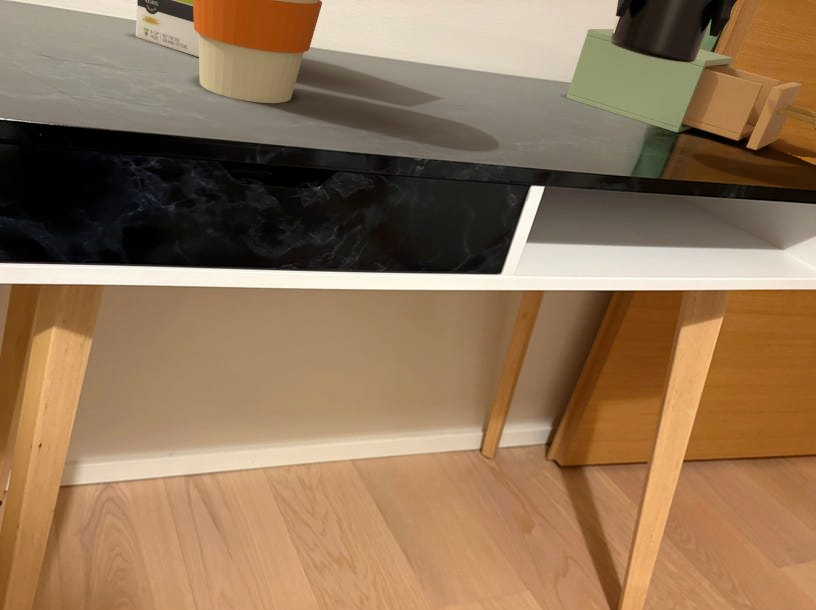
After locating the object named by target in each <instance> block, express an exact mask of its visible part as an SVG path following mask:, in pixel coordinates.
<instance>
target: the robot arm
mask: <svg viewBox="0 0 816 610" xmlns="http://www.w3.org/2000/svg"><path fill="white" fill-rule="evenodd" d="M631 2H632V0H617V6H616V12H615V17H617V18H618V17H624V15H625V13H626V11H627V9H628V7H629V6H630V4H631ZM737 2H738V0H718V2H717V5H716V7H715V10H714V13H713V15H712V18H711V20H710V24H709V36H710V37H714V38H717V37H718V36H719V34H720V33H721V32H722V31H723V29H724V28H725V26H726V25H727V24H728V22H729V21H730V20H731V13H732V8H733V7H734V5H735V4H736V3H737Z"/></svg>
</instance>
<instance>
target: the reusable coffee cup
mask: <svg viewBox="0 0 816 610" xmlns="http://www.w3.org/2000/svg"><path fill="white" fill-rule="evenodd" d="M322 1H323V0H193V14H194V29H195V31H197V32H198V35H199V57H198V66H199V67H198V69H199V84H200V85H201V87H203V88H204V89H205V90H207V91H209V92H211V93H214V94H217V95H220V96H224V97H227V98H231V99H235V100H239V101H246V102H252V103H262V104H278V103H279V104H281V103H286V102H289V101H290V100H291V99H292V97H293V94H294V93H293V92H294V89H295V85H296V82H297V78H298V75H299V71H300V67H301V64H302V60H303V57H304V54H305V53H306V52H308V51H310V48H311V45H312V40H313V36H314V34H315V31H316V27H317V24H318V20H319V17H320V13H321V9H322V6H323V2H322Z"/></svg>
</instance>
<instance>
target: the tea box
mask: <svg viewBox="0 0 816 610" xmlns="http://www.w3.org/2000/svg"><path fill="white" fill-rule="evenodd" d="M136 3H137V4H136V22H135V23H136V24H135V37H136V38H139V39H142V40H144V41H148V42H151V43H154V44H156V45H159V46H162V47H165V48H169V49H172V50H174V51H178V52H181V53H184V54H187V55H191V56H192V57H193V56H194V57H197V58H199V35H198V32H197V31H195V29H194V14H193V0H137V1H136Z"/></svg>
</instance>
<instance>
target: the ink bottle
mask: <svg viewBox="0 0 816 610" xmlns="http://www.w3.org/2000/svg"><path fill="white" fill-rule="evenodd" d="M717 2H718V0H632V2H631V4H630V6H629V7H628V9H627V11H626V13H625V15H624V17H618V16H617V19H616V20H615V21H616V22H615V24H614V27H613V29H614V30H613V33H612V36H611V43H612V44H613V45H615V46H617V47H620V48H622V49H625V50H628V51H631V52H634V53H638V54H641V55H645V56H649V57H653V58H658V59H664V60H669V61H676V62H685V63H690V62H693V61H695V59H696V57H697V54H698V52H699V49H701V46H702V44H703V41H704V39H705V36H706V34H707V30H708V28H709V27H710V24H711V18H712V15H713V13H714V10H715V7H716V5H717Z"/></svg>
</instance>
